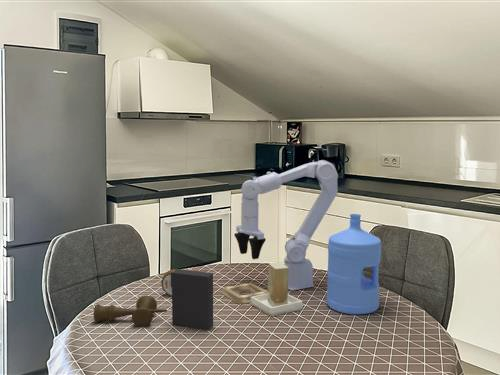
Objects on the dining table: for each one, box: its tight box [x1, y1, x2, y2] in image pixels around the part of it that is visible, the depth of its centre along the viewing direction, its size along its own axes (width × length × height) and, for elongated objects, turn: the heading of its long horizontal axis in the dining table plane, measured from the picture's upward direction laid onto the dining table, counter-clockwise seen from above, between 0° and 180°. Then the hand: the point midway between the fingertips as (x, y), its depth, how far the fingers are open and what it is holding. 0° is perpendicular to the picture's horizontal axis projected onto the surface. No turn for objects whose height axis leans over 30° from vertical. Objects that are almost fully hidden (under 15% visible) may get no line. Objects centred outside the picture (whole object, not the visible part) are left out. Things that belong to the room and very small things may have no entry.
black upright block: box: [171, 268, 214, 331], centre depth 135 cm, size 11×4×15 cm, turn 71°
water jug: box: [326, 213, 382, 315], centre depth 150 cm, size 16×16×28 cm
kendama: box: [93, 295, 168, 328], centre depth 139 cm, size 6×10×20 cm
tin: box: [160, 268, 202, 297], centre depth 159 cm, size 15×3×8 cm, turn 84°
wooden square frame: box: [221, 282, 268, 305], centre depth 160 cm, size 11×11×2 cm
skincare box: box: [267, 261, 289, 307], centre depth 149 cm, size 6×4×12 cm
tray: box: [250, 293, 304, 318], centre depth 150 cm, size 11×11×2 cm
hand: (249, 256), depth 169 cm, fingers open, 7 cm apart
